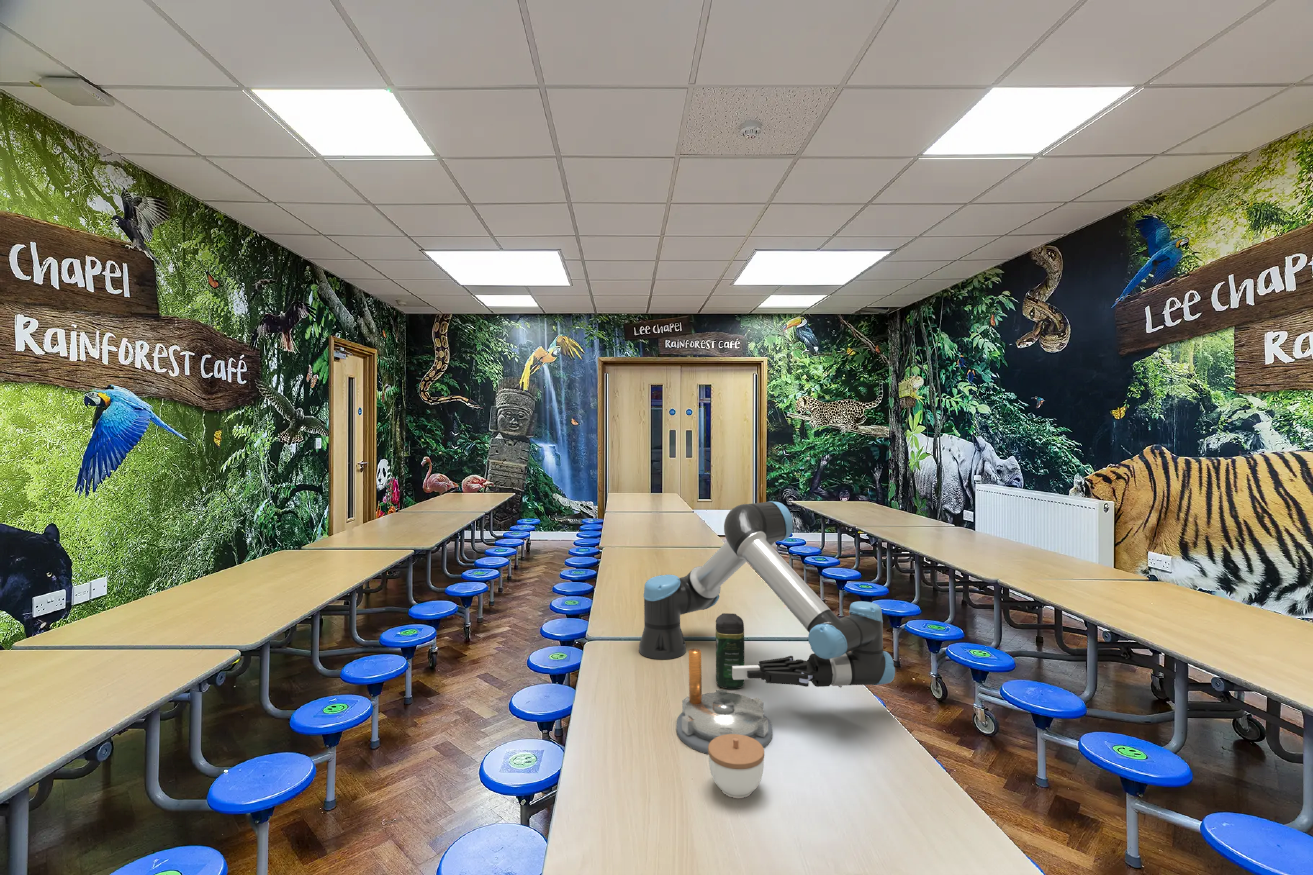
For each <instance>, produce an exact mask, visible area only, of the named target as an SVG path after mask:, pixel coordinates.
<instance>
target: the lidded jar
mask: <svg viewBox="0 0 1313 875" xmlns="http://www.w3.org/2000/svg"><path fill="white" fill-rule="evenodd" d="M707 755H708V763H709V770H710V775H711V777H712V779H713V782H714V783H715V785H716V786H717V787H718V788H719V789H720V791H721V790H722V791H721V792H722V793H723V794H724V795H725V794H726V795H725V796H727V795H728V796H727V797H729V798H731V797H733V798H732V799H745V798H747V797H749V796H750V794H752V793H753V792H754V791H755V790H756V789H757V788H758V786H760V783H761V780H762V778H763V774H764V768H765V767H764V766H765V765H764V763H765V762H764V761H765V748H763V746H762V745H761V744H760V743H759V742H758V741H757V740H755V739H753V738H751V737H748V736H745V735H739V734H727V735H721V736H718V737H716V738H714V739H713V740H712V741H711V742H710V743H709V745H708V754H707ZM744 797H745V798H744Z"/></svg>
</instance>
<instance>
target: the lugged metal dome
mask: <svg viewBox="0 0 1313 875" xmlns="http://www.w3.org/2000/svg"><path fill="white" fill-rule="evenodd" d="M688 683H689V684H688V696H686V697H685V698H684V699H682V701H681V702H682V704H681V705H682V709H681V710H682V712H681V713H684V714H685V716H683V717H682V731H683V732H684V733H685V734H686V735H692V734H694V735H696V736H698V737H700V738H703V739H705V740H709V741H712V740H713V739H714V738H716V737H718V736H721V735H727V734H739V735H745V736H748V737H751V738H754V737H756V736H757V735H758V736H761V737H764V736H765V735H766V734H767V733H768V719H769V718H768V717H767V718H768V719H767V718H764V717H763V714H764V701H763V700H761V699H759V698H758V697H754V698H750V697H749V696H747V695H742V694H739V693H733V692H727V690H728V689H715V692H714V691H713V692H706V693H702V692H703V689H702V687H703V686H702V684H703V682H702V650H701V649H700V648H691V649H688Z"/></svg>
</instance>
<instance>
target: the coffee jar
mask: <svg viewBox="0 0 1313 875" xmlns="http://www.w3.org/2000/svg"><path fill="white" fill-rule="evenodd" d="M732 666H745V625H744V620H743V618H742V617H740V616H739V615H737V614H736V613H726V612H725V613H724V612H723V613H721V614H720V615H718V616H717V617H716V618H715V680H716V684H717V686H718V687H720V688H723V689H726V690H736V689H740V688H743V687H744V686H745V679H741V680H733V678H732Z"/></svg>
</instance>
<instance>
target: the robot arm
mask: <svg viewBox="0 0 1313 875" xmlns="http://www.w3.org/2000/svg"><path fill="white" fill-rule="evenodd" d="M793 520H794V519H793V517H792V514H791V512H790V510H789V508H788V507H787V506H786V505H784V504H783V503H782V502H779V501H772V500H769V501H765V502H755V503H744V504H739V505H736V506H735V507H733V508H731V510H730V511H728V514H727V515H726V516H725V519H724V523H723V532H724V536H725V539H726V542H725V543H724V544H722V545H721V547H720V548H718V549H717V551H716V552H715V553H713V555H712V556H710V557H709V559H707V561H706V562H705V563H704V564H703V565H701V566H699V565H698V566H695V567H694V568H692V569H691V570H690V572H689V573H688V574H686V575H685V576H682V577H679V576H677V575H675V574H663V575H662V574H661V575H660V574H659V575H656V576H653V577H651V578H649V579H648V580H646V582H645V584H644V587H643V588H644V589H643V604H644V605H643V608H644V610H643V612H644V613H643V614H644V616H643V618H644V628H643V632H642V634H641V638H640V641H639V645H638V647H639V648H638V649H639V650H638V651H639V652H638V653H639V654H640V655H642V656H643V657H645V658H648V659H654V660H670V659H671V660H672V659H676V658H679V657H681V656H683V655H685V654H686V652H687V644H686V641H685V638H684V635H683V631H682V628H681V616H682V615H685V614H688V613H689V614H690V613H693V612H697V611H703V610H707V609H710V608H711V607H714V606H715V605H716V604H717V603H718V601H719V599H720V595H719V594H721V588H722V587H721V586H723V584H725V582H727V581H728V580H729V579H730V578H731V577H732V576H733V575H734V574H736V572H737V571H739V570H740V568H741V567H742V566H744V565H745V564H746V563H748V564H749V565H750V566H751V567H752V569H753V570H754V571H755V572H756V573H757V574H758V575H759V577H760V578H761V579H762V580H763V582H765V584H767V586H768V587H769V588H770V590H772V592H773V593H774V594H775V595H776V596H777V597H778V599H779V600H781V602H782V603H783V605H785V606H786V608H787V609H788V610H789V611H790V613H792V615H793V616H794V617H795V618H796V619H797V621H798V622H800V624H801V625H802V626H803V627H804V629H806V631H807V632H808V636H807V637H808V639H807V640H808V644H809V646H810V649H811V651H812V652H813V653H810V654H809V657H808V659H807V660H806V659H805V660H803V659H799V658H797V659H794V656H793V655H788V656H785V657H778V658H771V659H765V660H759V661H758V664H756V665H755V664H753V665H750V664H749V665H744V666H732V678H733V680H741V679H744V680H761V681H765V683H766V684H777V685H791V686H800V687H806V688H807V687H809V685H810V684H809V682H811V683H812V685H813V686H814V687H817V688H819V687H824V688H825V687H830V686H832V687H838V688H842V687H843V686H871V685H872V686H878V685H879V686H881V685H885V684H890V683H892V682H893V681H894V679H895V675H896V667H895V666H894V664H895V663H894V660H893V658H892V656H891V654H890V653H889V652H888V651H885V650H883V649H884V630H883V629H884V628H883V626H884V624H883V623H884V621H883V613H882V612H883V611H882V607H881V606H880V605H879V604H877V603H875V602H871V601H862V600H860V601H859V600H858V601H854V602H851V603H850V605H849V611H848V613H849V615H845V616H843V617H838V616H837V615H836V614H835V613H834V612H833V611H832V610H831V609H830V607H829V606H828V605H827V604H826V603H825V602H824V601H823V600H822V599H821V598H820V597H819V595H817V593H816V592H815V591H814V590H813V589H812V588H811V587H810V586H809V585H808V584H807V583H806V581H805V580H803V578H802V577H801V576H800V575H799V574H798V573H797V572H796V571H795V570H794V568H792V566H790V564H789V563H788V562H787V561H786V560H785V559H784V558H783V557H782V555H781V554H780V553H779V552H777V550H776V549H775V548H774V546H773V545H774V544H775V543H776V542H783V541H784V540H786V539H788V538H789V537H790V536H791V535H792V532H793V527H794V525H793V523H794V522H793Z"/></svg>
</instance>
